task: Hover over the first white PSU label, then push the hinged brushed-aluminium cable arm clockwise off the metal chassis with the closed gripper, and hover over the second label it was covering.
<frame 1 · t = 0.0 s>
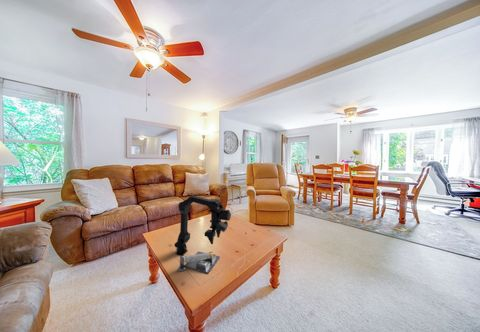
hand: (215, 240, 106), 14 cm above the table, fingers open, 9 cm apart
cable arm: (199, 257, 102), point 6 cm above the table, hinge at 0.0°
pivot post: (182, 268, 99), on the table
chassis: (202, 262, 106), on the table
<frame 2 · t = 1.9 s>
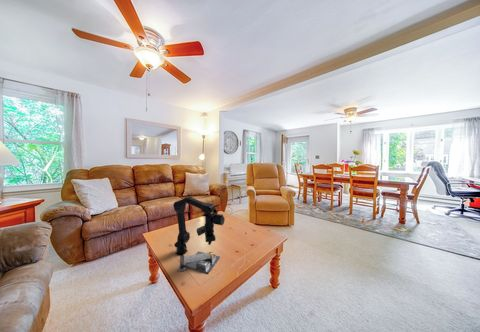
hand: (209, 244, 107), 11 cm above the table, fingers closed
nothing on the table moved.
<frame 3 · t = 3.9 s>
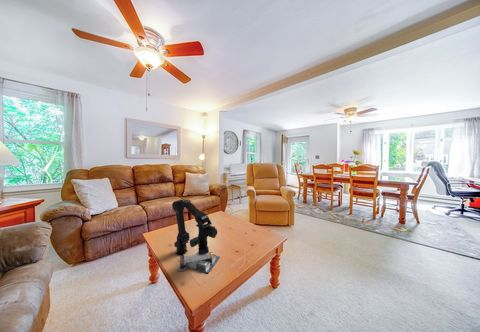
hand: (202, 255, 105), 5 cm above the table, fingers closed
cable arm: (199, 257, 102), point 6 cm above the table, hinge at 0.0°, touching gripper
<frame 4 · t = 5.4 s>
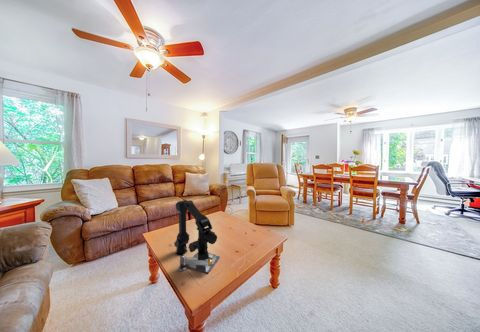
hand: (202, 260, 100), 5 cm above the table, fingers closed
cable arm: (198, 261, 97), point 6 cm above the table, hinge at -23.0°, touching gripper
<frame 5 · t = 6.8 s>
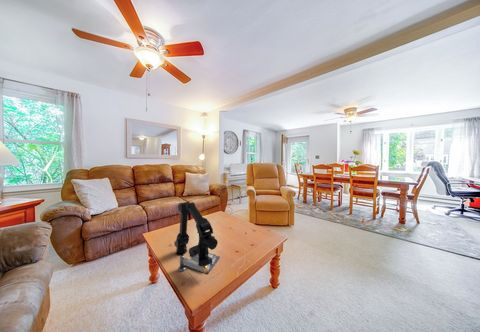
hand: (203, 266, 96), 4 cm above the table, fingers closed
cable arm: (195, 265, 94), point 6 cm above the table, hinge at -41.7°, touching gripper
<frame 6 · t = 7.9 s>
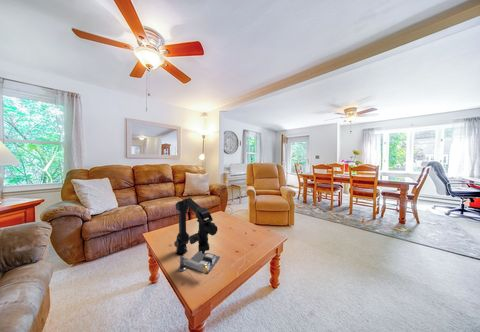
hand: (203, 253, 98), 10 cm above the table, fingers closed
cable arm: (195, 265, 94), point 6 cm above the table, hinge at -41.7°
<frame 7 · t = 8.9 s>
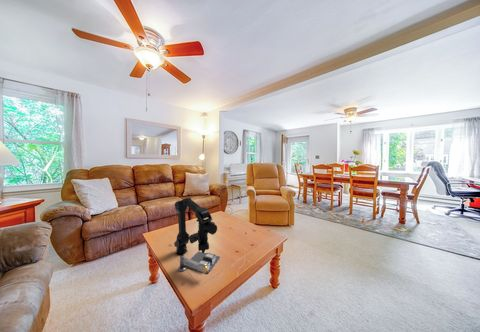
hand: (203, 252, 100), 10 cm above the table, fingers closed
nothing on the table moved.
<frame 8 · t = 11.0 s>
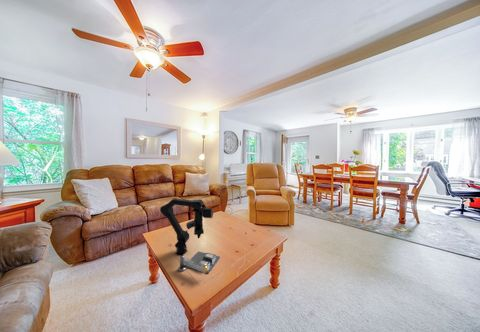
hand: (198, 237, 114), 12 cm above the table, fingers closed
nothing on the table moved.
at the end: cable arm at -42° (first picture: +0°); cable arm touching nothing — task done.
